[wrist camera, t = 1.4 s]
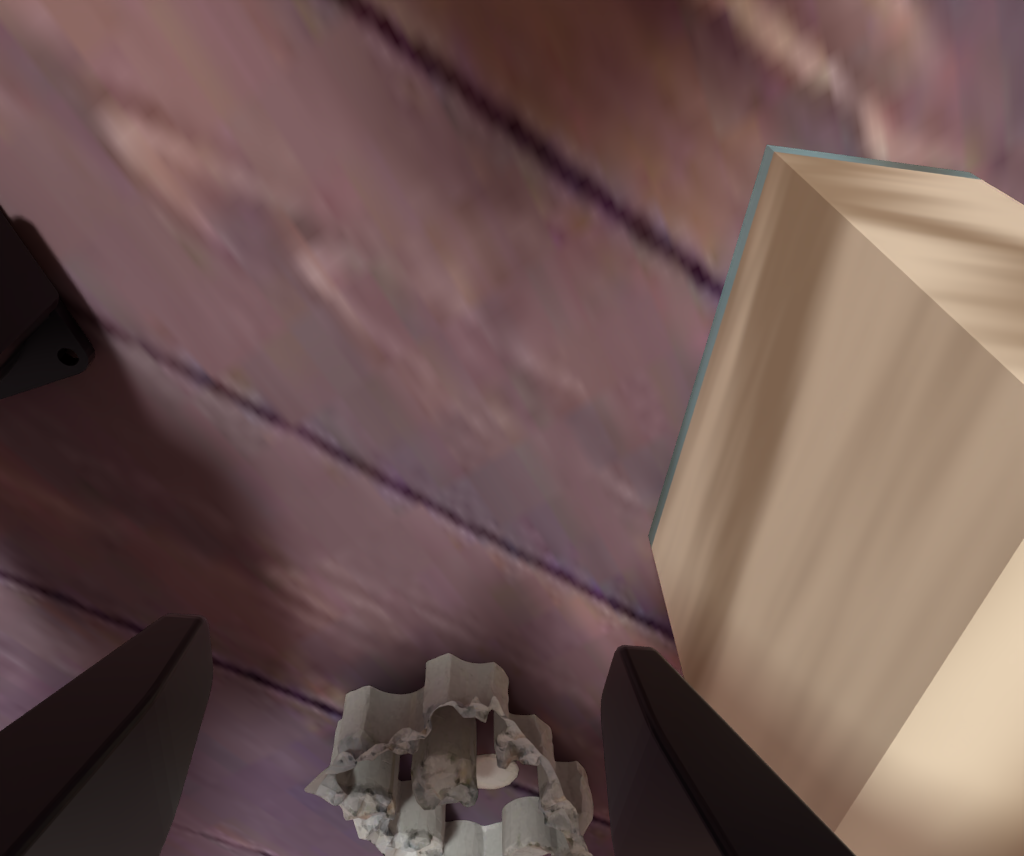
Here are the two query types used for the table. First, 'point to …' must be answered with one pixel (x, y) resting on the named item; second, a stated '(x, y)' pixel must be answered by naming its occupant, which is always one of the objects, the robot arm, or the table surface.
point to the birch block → (863, 502)
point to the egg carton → (451, 769)
